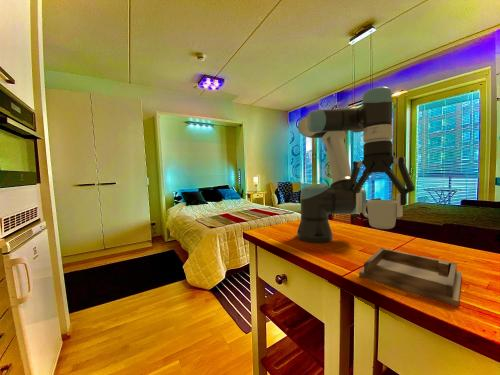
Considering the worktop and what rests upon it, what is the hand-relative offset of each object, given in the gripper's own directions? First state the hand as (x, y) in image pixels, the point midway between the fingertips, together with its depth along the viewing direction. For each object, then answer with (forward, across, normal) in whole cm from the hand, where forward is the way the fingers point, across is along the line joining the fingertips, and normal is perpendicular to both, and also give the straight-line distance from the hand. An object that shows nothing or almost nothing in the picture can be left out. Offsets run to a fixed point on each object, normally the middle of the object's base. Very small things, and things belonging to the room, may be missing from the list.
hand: (378, 214), depth 66 cm
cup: (+4, 0, 0) cm, 4 cm away
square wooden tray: (+16, +8, -1) cm, 18 cm away
